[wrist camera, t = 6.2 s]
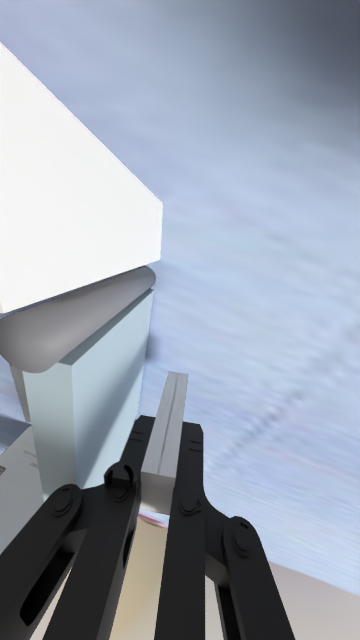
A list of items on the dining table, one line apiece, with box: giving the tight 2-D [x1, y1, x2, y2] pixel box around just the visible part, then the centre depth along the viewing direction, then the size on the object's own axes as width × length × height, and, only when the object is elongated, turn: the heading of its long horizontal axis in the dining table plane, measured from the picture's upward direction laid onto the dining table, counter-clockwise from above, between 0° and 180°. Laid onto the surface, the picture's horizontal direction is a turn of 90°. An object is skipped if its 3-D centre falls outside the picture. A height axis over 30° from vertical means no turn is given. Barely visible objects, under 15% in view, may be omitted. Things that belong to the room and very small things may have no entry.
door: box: [0, 267, 156, 502], centre depth 12 cm, size 15×3×11 cm, turn 170°
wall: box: [0, 42, 163, 462], centre depth 12 cm, size 25×2×12 cm, turn 175°
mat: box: [10, 365, 31, 423], centre depth 21 cm, size 8×8×1 cm
